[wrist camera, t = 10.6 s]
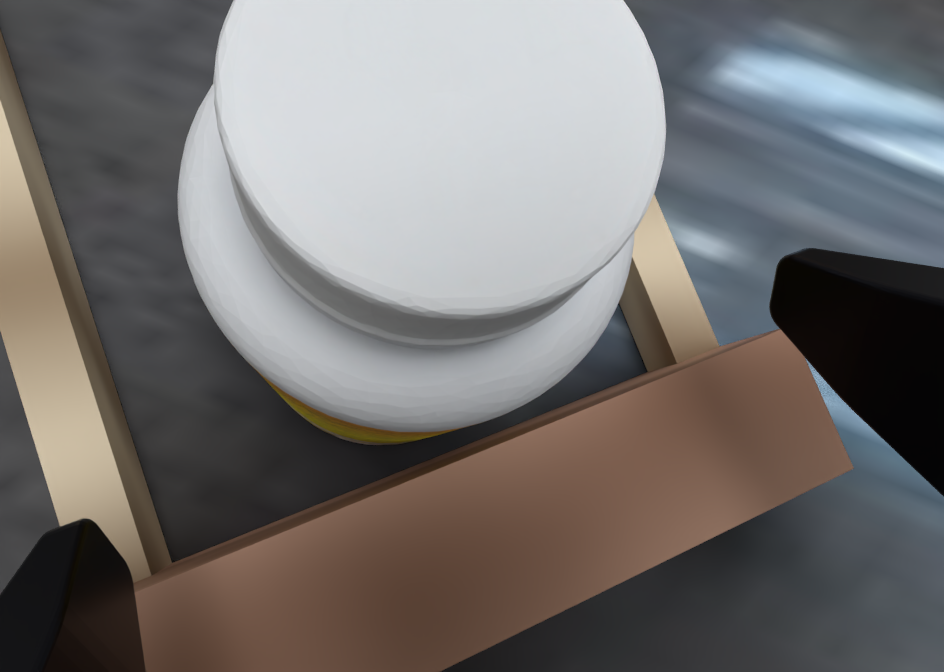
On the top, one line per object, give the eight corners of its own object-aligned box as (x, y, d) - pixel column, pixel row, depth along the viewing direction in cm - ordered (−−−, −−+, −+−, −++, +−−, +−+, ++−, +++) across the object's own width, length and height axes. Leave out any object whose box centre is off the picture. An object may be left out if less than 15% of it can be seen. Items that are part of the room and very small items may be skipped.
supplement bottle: (515, 422, 15) (820, 363, 6) (277, 467, 14) (133, 488, 4) (473, 204, 16) (676, -183, 6) (245, 228, 15) (61, -206, 5)
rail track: (741, 484, 16) (864, 492, 12) (164, 757, 13) (87, 885, 9) (484, -121, 18) (523, -277, 14) (-79, -27, 15) (-229, -199, 11)
